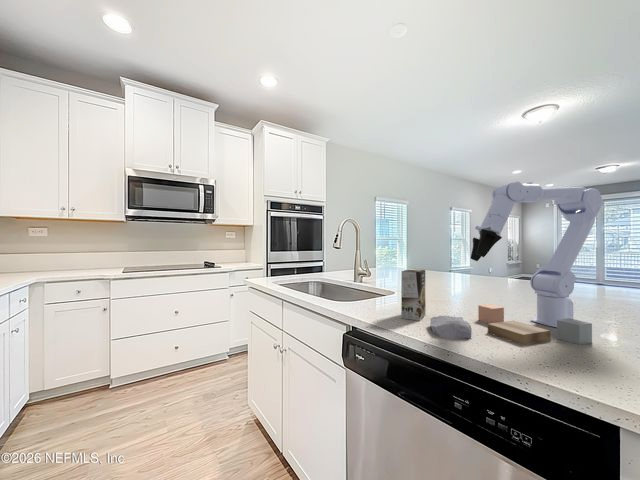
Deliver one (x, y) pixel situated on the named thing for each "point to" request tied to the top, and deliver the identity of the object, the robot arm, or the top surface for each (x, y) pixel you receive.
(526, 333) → the walnut block
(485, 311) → the terracotta cube
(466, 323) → the stone block
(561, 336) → the slate grey cube
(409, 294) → the coffee box
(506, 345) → the top surface
